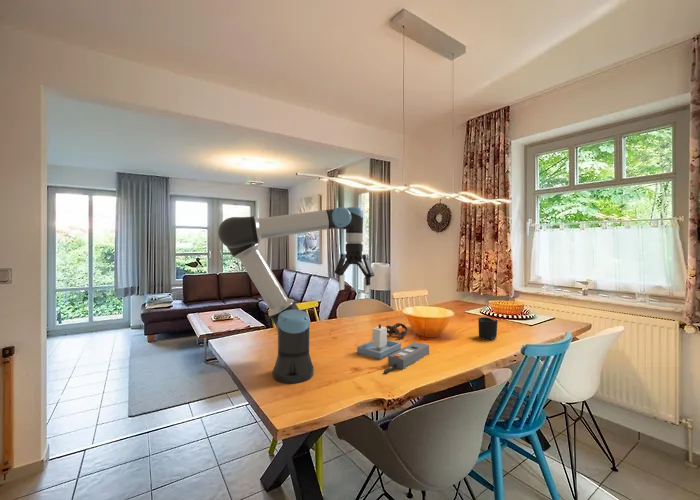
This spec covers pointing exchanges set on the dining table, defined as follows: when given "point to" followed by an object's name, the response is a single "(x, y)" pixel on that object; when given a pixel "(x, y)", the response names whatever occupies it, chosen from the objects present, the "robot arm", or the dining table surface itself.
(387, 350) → the tray
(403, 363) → the power strip
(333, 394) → the dining table surface
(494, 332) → the pen holder
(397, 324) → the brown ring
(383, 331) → the charger
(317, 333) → the dining table surface
